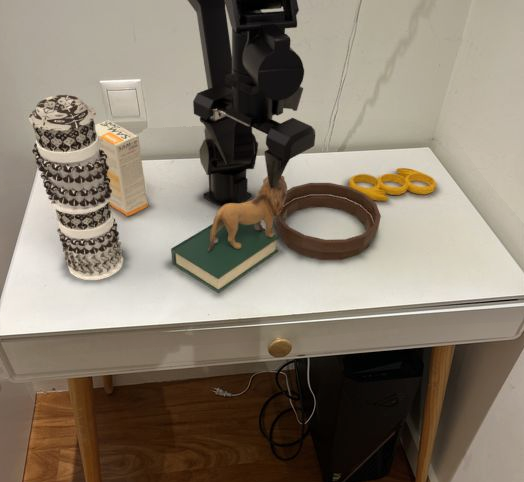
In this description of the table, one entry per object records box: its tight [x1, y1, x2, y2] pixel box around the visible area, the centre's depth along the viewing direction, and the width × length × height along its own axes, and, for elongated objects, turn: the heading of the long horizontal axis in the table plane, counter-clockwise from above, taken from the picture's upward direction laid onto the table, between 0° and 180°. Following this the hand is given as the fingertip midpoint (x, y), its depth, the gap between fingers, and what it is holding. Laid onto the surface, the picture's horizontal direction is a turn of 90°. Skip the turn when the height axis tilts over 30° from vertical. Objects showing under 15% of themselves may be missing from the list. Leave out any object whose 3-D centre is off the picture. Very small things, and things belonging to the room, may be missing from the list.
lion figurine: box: [208, 175, 288, 251], centre depth 86 cm, size 15×5×9 cm, turn 129°
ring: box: [273, 182, 382, 261], centre depth 95 cm, size 17×17×4 cm
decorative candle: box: [28, 94, 124, 281], centre depth 79 cm, size 9×9×25 cm
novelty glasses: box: [348, 167, 437, 202], centre depth 106 cm, size 17×2×10 cm
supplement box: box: [95, 119, 149, 217], centre depth 95 cm, size 8×5×13 cm, turn 47°
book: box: [170, 223, 280, 294], centre depth 89 cm, size 10×14×3 cm
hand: (250, 174), depth 85 cm, fingers open, 9 cm apart
